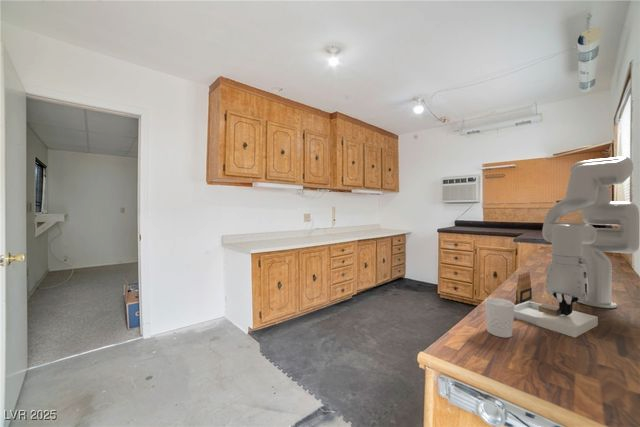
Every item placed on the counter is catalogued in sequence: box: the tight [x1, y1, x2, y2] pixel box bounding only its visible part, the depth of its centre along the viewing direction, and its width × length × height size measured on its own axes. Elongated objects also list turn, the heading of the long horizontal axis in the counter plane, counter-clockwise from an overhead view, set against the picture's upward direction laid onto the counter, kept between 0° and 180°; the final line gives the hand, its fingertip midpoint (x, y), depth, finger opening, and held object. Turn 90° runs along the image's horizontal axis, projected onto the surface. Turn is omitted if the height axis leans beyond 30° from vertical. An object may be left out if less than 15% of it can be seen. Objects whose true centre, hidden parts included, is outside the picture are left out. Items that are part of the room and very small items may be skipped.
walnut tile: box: [539, 303, 561, 316], centre depth 95 cm, size 5×5×2 cm
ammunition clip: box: [515, 271, 533, 304], centre depth 117 cm, size 11×2×12 cm, turn 122°
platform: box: [536, 309, 599, 338], centre depth 91 cm, size 18×10×3 cm, turn 119°
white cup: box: [484, 297, 516, 338], centre depth 86 cm, size 8×8×10 cm
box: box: [514, 300, 545, 326], centre depth 100 cm, size 17×10×2 cm, turn 119°
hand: (565, 314), depth 92 cm, fingers closed
